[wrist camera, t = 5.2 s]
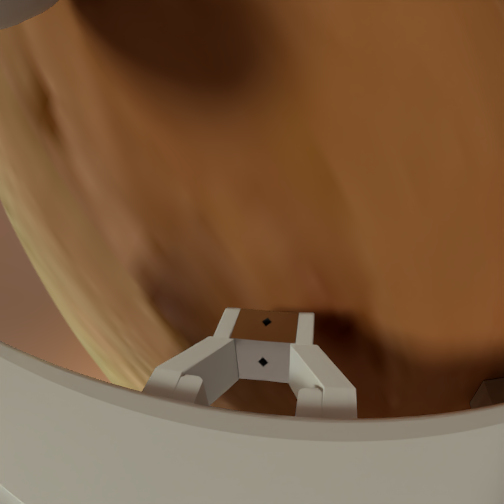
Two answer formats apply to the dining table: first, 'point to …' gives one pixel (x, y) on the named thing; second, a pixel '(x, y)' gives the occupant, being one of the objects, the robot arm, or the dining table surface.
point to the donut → (21, 10)
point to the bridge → (489, 393)
